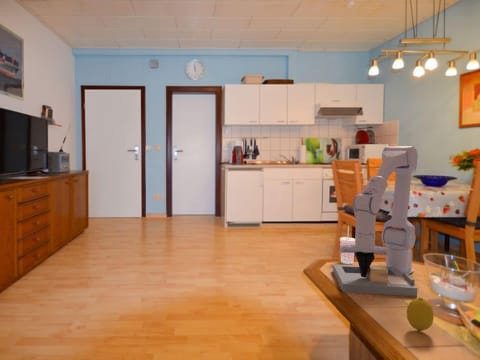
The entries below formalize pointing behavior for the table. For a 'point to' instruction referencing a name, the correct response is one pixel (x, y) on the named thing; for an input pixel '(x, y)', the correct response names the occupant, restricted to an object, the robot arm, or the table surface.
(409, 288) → the platform
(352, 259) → the beverage cup
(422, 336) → the table surface
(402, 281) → the pad
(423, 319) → the lemon
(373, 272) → the block
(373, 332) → the table surface
